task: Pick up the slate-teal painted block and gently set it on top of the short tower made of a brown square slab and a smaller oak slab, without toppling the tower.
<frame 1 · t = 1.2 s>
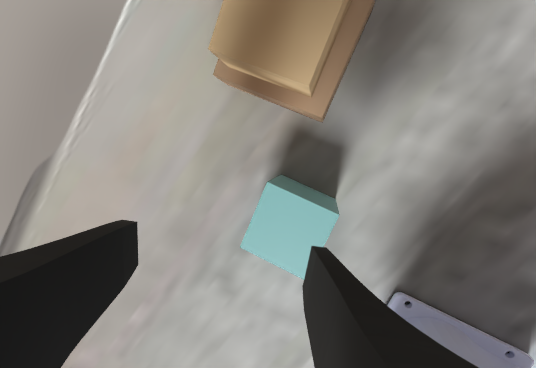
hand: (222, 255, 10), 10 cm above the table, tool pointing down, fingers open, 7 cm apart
teal block: (296, 212, 20), on the table
oak slab: (286, 34, 16), point 3 cm above the table, touching brown square slab
brown square slab: (294, 52, 18), on the table, touching oak slab
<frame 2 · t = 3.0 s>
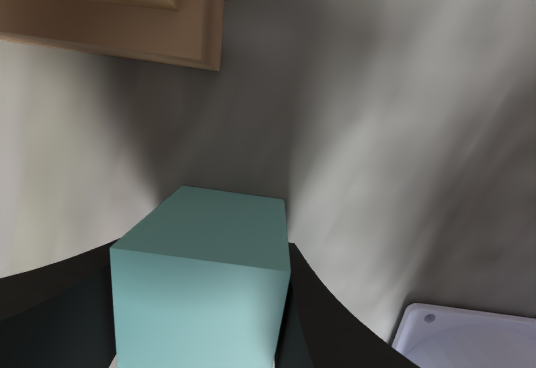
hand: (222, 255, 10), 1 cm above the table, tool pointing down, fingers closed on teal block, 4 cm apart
teal block: (228, 237, 12), on the table, touching gripper
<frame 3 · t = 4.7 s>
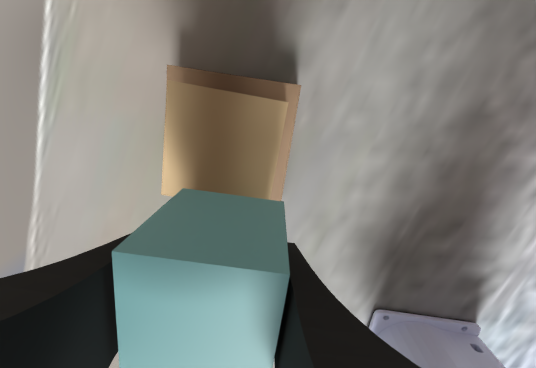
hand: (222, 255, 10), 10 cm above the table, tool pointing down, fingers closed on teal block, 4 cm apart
teal block: (229, 239, 12), point 8 cm above the table, touching gripper
oak slab: (230, 143, 16), point 3 cm above the table, touching brown square slab
brown square slab: (235, 136, 19), on the table, touching oak slab
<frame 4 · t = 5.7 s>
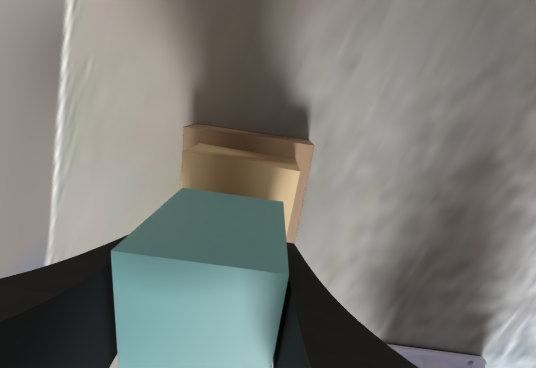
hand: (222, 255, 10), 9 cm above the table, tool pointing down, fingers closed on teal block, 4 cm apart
teal block: (228, 239, 12), point 7 cm above the table, touching gripper
oak slab: (241, 196, 16), point 3 cm above the table, touching brown square slab
brown square slab: (247, 183, 19), on the table, touching oak slab
when the fingers open (9 cm above the table, at t = 5.8 s): teal block drops 2 cm, point 5 cm above the table.
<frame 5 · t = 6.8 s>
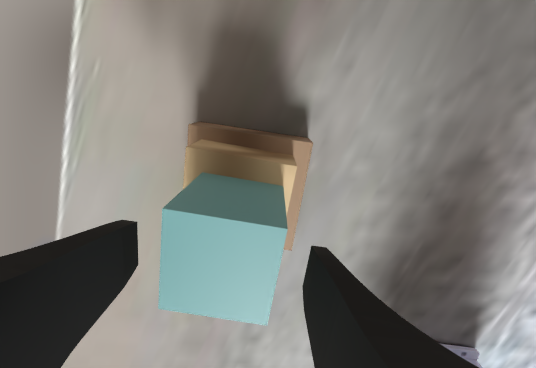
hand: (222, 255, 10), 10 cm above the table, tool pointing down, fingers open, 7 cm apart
teal block: (237, 216, 14), point 5 cm above the table
oak slab: (241, 190, 17), point 2 cm above the table, touching brown square slab
brown square slab: (248, 179, 20), on the table, touching oak slab
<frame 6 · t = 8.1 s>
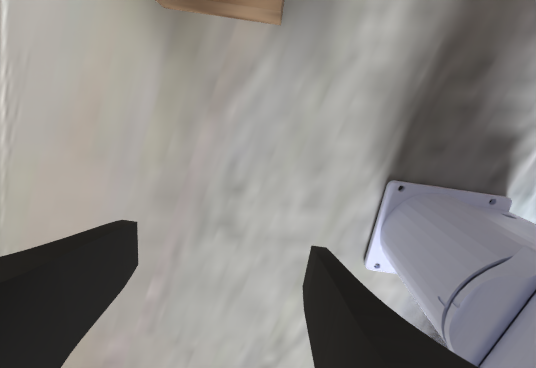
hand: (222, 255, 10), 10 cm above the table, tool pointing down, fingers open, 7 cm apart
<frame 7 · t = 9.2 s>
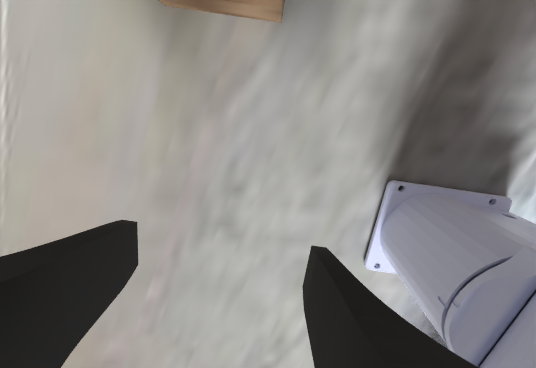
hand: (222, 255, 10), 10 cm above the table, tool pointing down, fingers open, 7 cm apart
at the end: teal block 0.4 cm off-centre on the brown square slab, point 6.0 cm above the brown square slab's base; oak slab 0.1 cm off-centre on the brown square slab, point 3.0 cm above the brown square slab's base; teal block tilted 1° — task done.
